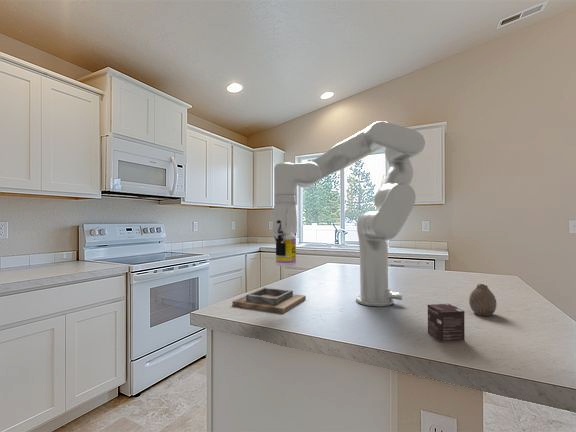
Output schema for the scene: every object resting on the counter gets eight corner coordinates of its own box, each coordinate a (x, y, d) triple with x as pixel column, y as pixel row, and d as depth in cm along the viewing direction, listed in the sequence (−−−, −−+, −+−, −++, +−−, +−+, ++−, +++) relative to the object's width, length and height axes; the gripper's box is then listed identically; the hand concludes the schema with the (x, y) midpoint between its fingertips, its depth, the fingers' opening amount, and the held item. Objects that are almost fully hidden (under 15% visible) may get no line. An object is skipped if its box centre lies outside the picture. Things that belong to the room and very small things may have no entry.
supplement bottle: (294, 266, 96) (294, 226, 96) (274, 266, 97) (273, 226, 97) (297, 263, 102) (297, 226, 102) (278, 263, 104) (278, 226, 104)
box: (427, 333, 76) (426, 304, 76) (449, 332, 77) (449, 303, 77) (441, 343, 70) (440, 311, 70) (465, 341, 71) (465, 310, 71)
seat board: (305, 299, 109) (305, 290, 109) (283, 313, 94) (283, 302, 94) (259, 294, 118) (259, 285, 118) (232, 305, 103) (232, 295, 103)
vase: (492, 311, 92) (492, 283, 92) (500, 318, 86) (499, 288, 86) (467, 309, 95) (466, 281, 95) (472, 316, 88) (472, 286, 88)
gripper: (286, 202, 109) (286, 251, 109) (262, 199, 94) (262, 256, 93) (305, 201, 106) (306, 252, 106) (284, 198, 90) (284, 258, 90)
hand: (285, 253), depth 100 cm, fingers closed on supplement bottle, 6 cm apart
